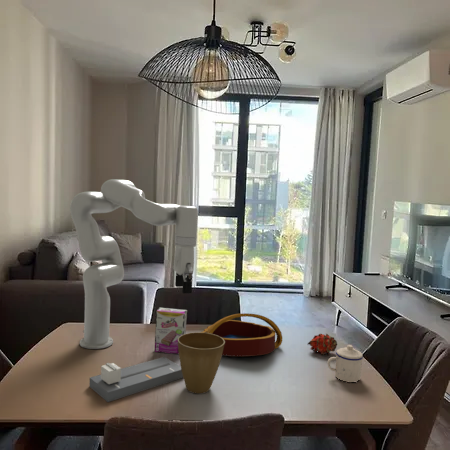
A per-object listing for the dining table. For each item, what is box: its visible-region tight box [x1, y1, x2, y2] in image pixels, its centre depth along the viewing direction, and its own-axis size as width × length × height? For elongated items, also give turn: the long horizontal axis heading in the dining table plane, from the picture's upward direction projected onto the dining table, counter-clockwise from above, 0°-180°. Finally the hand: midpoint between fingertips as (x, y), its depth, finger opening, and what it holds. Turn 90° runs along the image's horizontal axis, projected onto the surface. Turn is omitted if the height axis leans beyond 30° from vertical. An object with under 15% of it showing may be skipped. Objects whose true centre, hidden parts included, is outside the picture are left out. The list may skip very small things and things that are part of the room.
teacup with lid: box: [327, 344, 364, 382], centre depth 150 cm, size 12×9×12 cm
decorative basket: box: [201, 313, 283, 357], centre depth 172 cm, size 34×29×15 cm
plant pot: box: [178, 331, 225, 395], centre depth 136 cm, size 15×15×16 cm
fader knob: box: [100, 362, 122, 384], centre depth 132 cm, size 5×4×4 cm
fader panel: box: [88, 356, 184, 403], centre depth 139 cm, size 12×28×3 cm, turn 133°
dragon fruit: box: [307, 333, 338, 355], centre depth 173 cm, size 8×8×12 cm
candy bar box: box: [154, 307, 188, 355], centre depth 165 cm, size 11×5×16 cm, turn 84°
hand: (183, 289), depth 151 cm, fingers open, 9 cm apart
